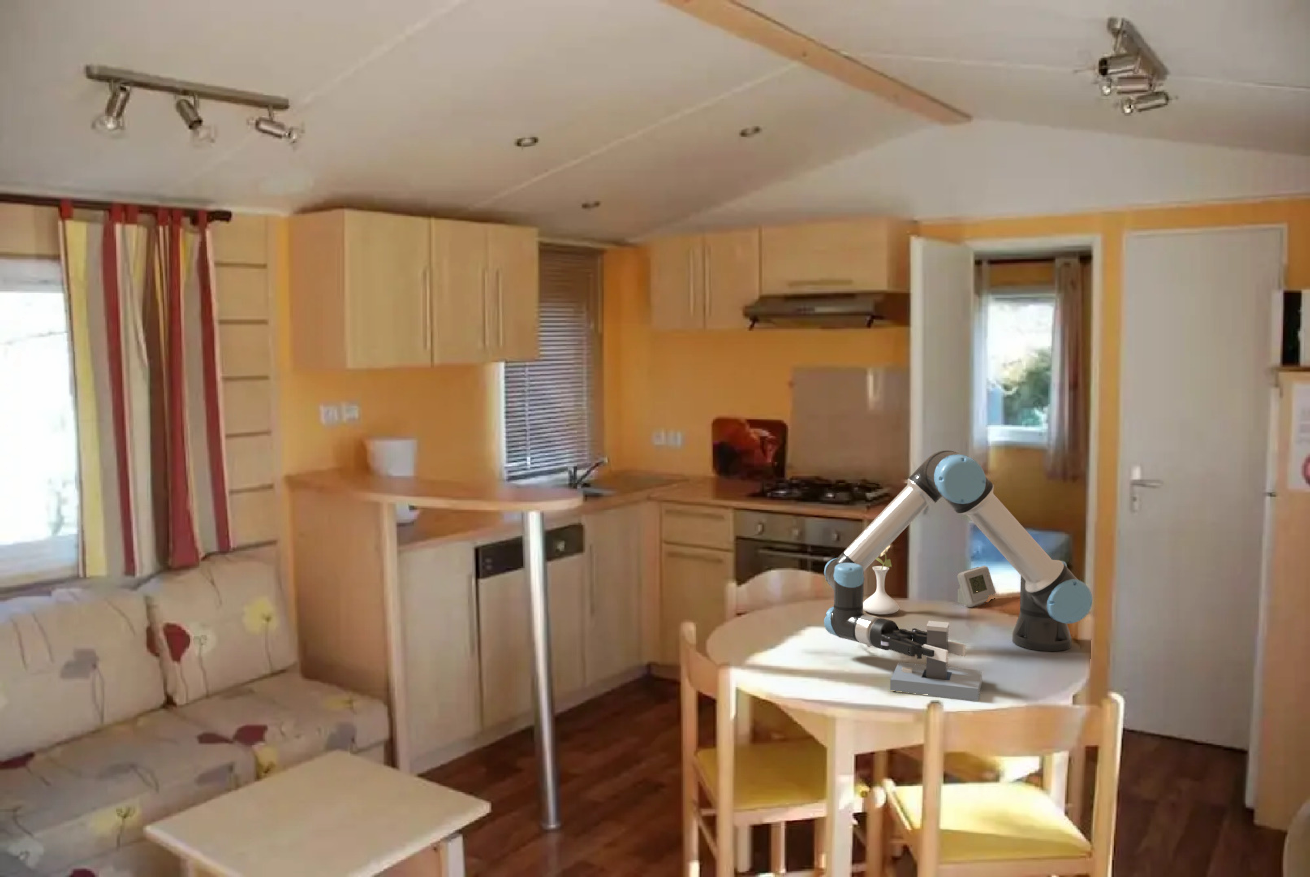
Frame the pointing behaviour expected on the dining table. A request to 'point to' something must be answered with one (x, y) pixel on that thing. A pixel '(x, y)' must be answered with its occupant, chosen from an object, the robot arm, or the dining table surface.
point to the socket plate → (937, 682)
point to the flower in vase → (881, 591)
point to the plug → (939, 639)
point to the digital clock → (975, 586)
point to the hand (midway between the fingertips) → (955, 653)
